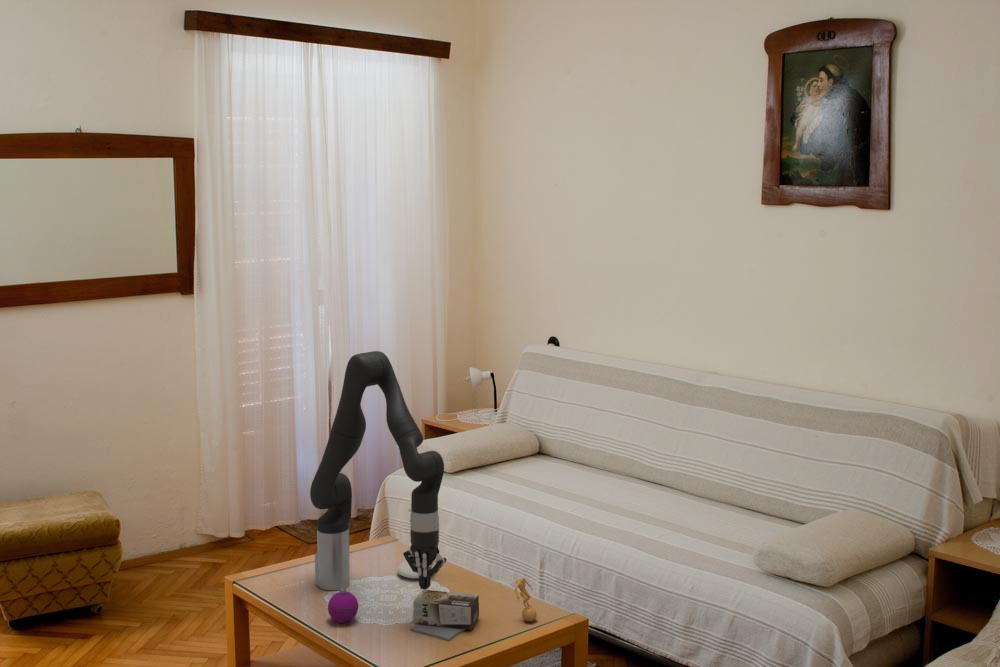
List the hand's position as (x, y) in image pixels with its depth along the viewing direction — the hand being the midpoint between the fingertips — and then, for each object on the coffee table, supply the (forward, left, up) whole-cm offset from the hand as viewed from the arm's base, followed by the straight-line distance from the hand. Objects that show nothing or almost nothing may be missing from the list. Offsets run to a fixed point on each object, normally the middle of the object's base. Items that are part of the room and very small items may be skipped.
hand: (424, 588), depth 269 cm
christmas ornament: (-20, -10, -10) cm, 24 cm away
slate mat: (+5, 0, -10) cm, 11 cm away
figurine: (+22, +16, -10) cm, 29 cm away
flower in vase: (-21, +27, -10) cm, 36 cm away
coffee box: (-3, +1, -6) cm, 7 cm away
